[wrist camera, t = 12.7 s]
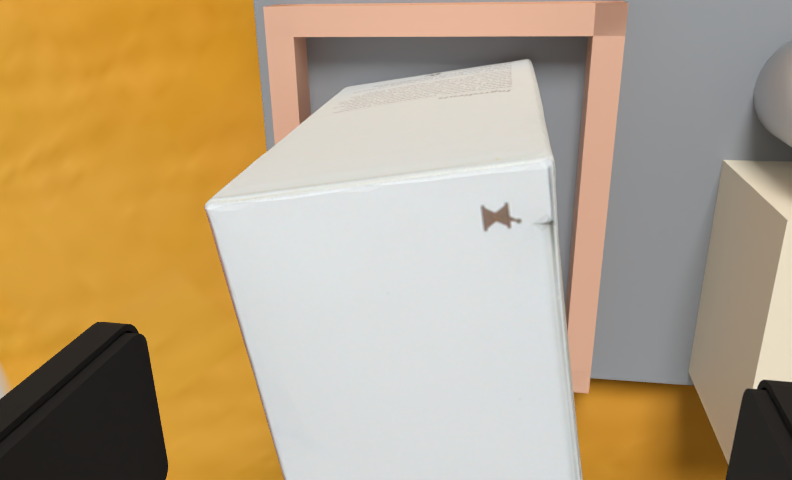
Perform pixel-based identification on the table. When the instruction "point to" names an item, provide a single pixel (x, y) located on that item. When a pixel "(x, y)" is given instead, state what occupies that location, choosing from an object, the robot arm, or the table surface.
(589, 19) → the assembly board
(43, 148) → the table surface
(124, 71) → the table surface
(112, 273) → the table surface
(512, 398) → the small box
